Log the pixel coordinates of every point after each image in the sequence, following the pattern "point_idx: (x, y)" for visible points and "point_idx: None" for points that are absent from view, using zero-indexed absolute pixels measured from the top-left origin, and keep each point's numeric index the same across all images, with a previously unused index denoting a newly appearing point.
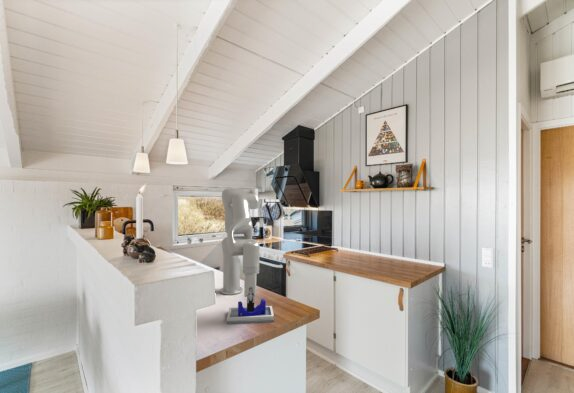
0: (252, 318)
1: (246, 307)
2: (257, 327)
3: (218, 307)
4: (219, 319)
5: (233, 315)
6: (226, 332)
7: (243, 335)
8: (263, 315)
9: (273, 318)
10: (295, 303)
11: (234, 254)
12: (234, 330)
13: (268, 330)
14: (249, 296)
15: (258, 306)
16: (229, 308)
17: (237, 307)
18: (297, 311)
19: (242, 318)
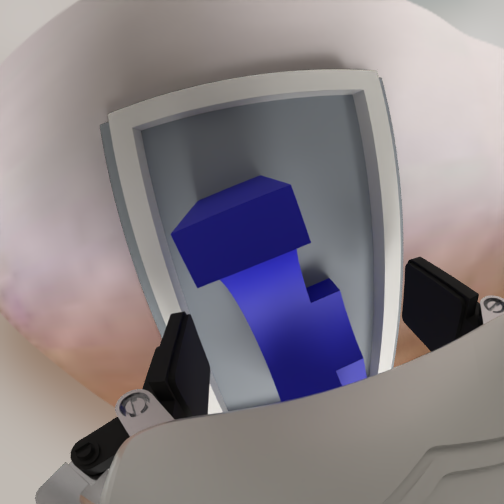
0: None
1: (389, 237)
2: (113, 352)
3: (419, 17)
4: (202, 35)
5: (247, 133)
6: (16, 180)
7: (17, 290)
8: (266, 377)
9: None
10: None
11: None
12: (40, 221)
13: (105, 397)
14: (37, 491)
15: (330, 371)
16: (359, 73)
17: (388, 148)
18: None
19: (144, 254)
